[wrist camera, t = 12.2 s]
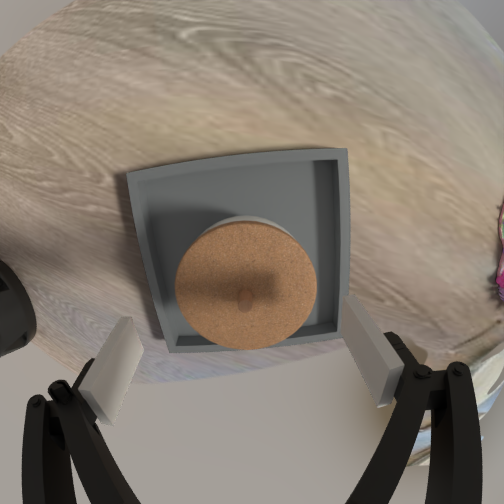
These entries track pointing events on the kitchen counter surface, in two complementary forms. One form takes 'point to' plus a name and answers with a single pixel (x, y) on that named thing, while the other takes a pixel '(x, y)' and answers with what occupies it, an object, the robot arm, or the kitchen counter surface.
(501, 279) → the candy landscape model
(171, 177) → the tray
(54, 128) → the kitchen counter surface
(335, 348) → the kitchen counter surface
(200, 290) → the lidded jar
